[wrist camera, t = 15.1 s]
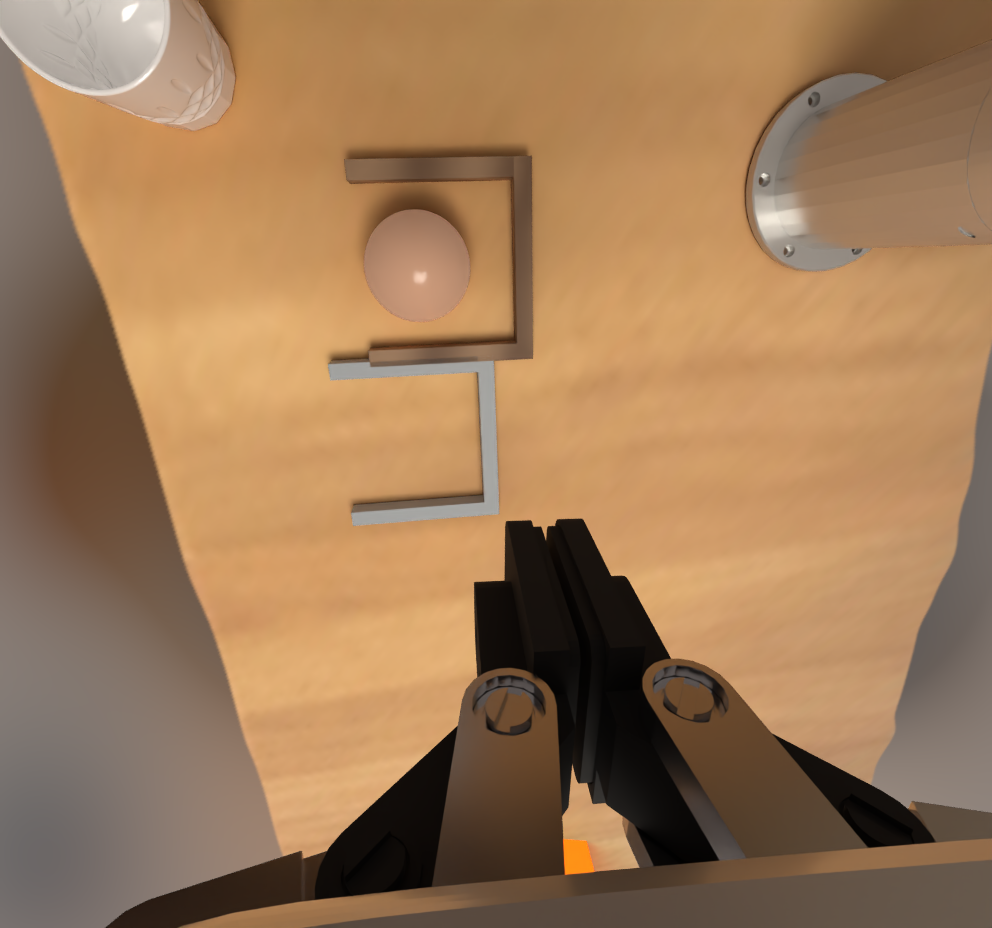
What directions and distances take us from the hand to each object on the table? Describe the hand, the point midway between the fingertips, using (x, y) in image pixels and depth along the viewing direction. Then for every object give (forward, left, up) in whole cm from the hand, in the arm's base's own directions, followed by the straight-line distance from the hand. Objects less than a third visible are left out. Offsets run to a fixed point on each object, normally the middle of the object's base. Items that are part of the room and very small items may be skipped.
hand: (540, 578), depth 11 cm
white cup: (+17, -18, -31) cm, 39 cm away
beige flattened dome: (+3, -6, -31) cm, 32 cm away
